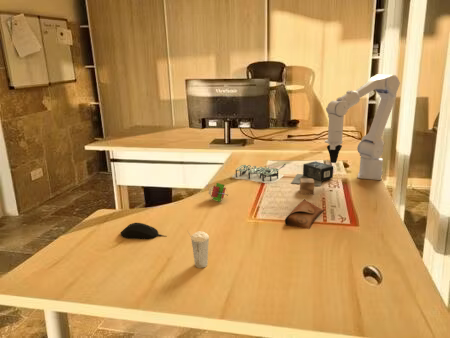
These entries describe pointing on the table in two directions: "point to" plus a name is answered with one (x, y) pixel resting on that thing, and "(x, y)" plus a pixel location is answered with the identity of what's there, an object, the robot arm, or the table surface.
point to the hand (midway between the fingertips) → (333, 162)
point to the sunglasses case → (303, 215)
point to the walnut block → (306, 186)
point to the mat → (298, 176)
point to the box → (318, 171)
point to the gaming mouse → (139, 231)
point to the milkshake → (200, 248)
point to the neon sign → (258, 174)
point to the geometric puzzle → (217, 192)
